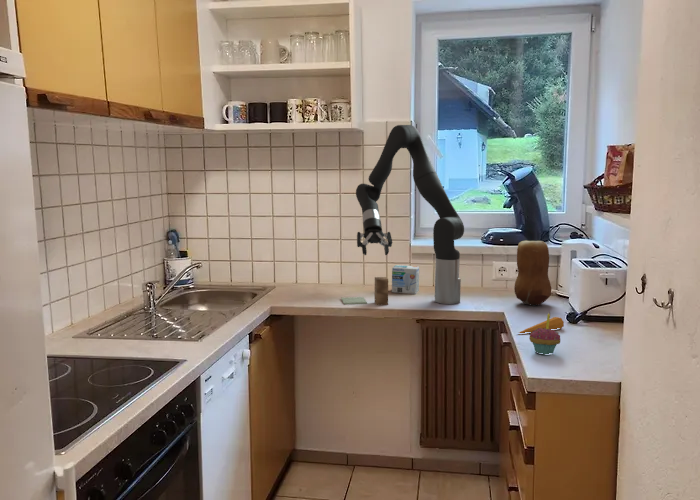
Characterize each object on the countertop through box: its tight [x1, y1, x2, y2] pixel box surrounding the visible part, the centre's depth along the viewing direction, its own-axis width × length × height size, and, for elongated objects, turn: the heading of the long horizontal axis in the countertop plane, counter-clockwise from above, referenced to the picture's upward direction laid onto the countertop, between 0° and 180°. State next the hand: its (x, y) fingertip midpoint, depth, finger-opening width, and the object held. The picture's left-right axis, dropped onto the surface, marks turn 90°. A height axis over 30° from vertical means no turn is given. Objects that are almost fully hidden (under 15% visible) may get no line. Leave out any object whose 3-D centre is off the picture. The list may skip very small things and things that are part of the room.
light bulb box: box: [391, 264, 420, 295], centre depth 250 cm, size 11×7×11 cm, turn 73°
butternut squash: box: [514, 240, 552, 306], centre depth 226 cm, size 14×13×25 cm
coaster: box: [340, 296, 368, 305], centre depth 233 cm, size 9×9×1 cm
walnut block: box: [374, 276, 389, 306], centre depth 228 cm, size 4×4×10 cm
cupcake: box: [529, 310, 561, 354], centre depth 169 cm, size 9×8×12 cm
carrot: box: [518, 316, 565, 333], centre depth 191 cm, size 20×4×4 cm, turn 115°
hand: (376, 254), depth 238 cm, fingers open, 8 cm apart
